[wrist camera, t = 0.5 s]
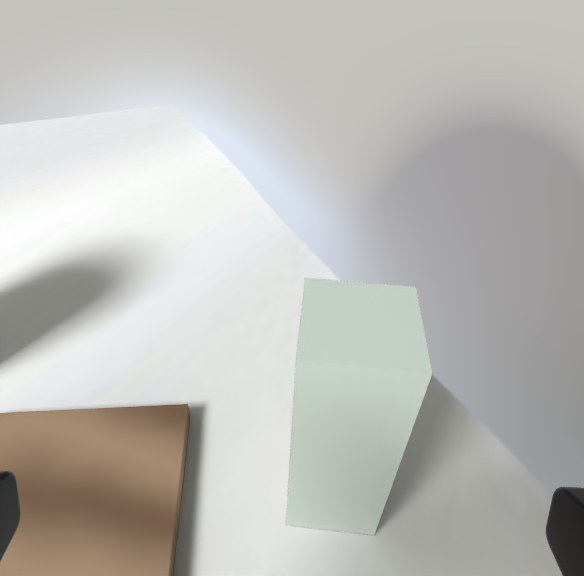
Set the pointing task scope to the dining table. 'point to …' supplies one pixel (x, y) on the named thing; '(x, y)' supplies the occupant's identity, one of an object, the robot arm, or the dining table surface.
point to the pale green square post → (353, 401)
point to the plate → (95, 490)
